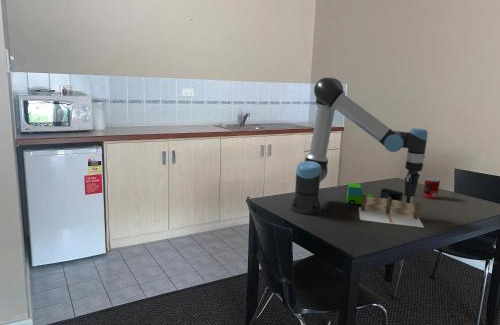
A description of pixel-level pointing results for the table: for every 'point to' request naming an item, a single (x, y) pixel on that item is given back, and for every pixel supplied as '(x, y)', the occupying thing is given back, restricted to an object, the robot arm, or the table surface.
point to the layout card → (388, 218)
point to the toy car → (355, 194)
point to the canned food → (431, 188)
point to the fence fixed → (376, 203)
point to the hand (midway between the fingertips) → (407, 208)
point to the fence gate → (405, 208)
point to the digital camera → (391, 194)
